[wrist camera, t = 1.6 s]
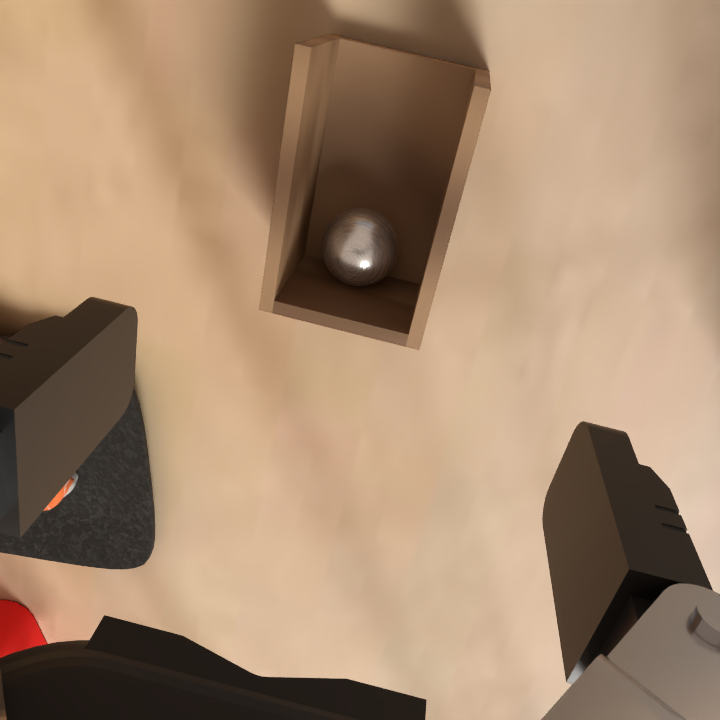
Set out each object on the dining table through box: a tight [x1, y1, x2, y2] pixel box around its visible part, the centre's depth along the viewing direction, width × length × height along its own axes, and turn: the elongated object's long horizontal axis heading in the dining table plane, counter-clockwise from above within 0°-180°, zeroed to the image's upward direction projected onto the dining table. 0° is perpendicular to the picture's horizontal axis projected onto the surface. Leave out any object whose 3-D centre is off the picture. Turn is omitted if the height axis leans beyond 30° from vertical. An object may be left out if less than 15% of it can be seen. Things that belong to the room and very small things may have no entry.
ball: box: [322, 208, 399, 286], centre depth 27 cm, size 3×3×3 cm
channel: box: [259, 34, 491, 350], centre depth 25 cm, size 9×6×6 cm, turn 169°
